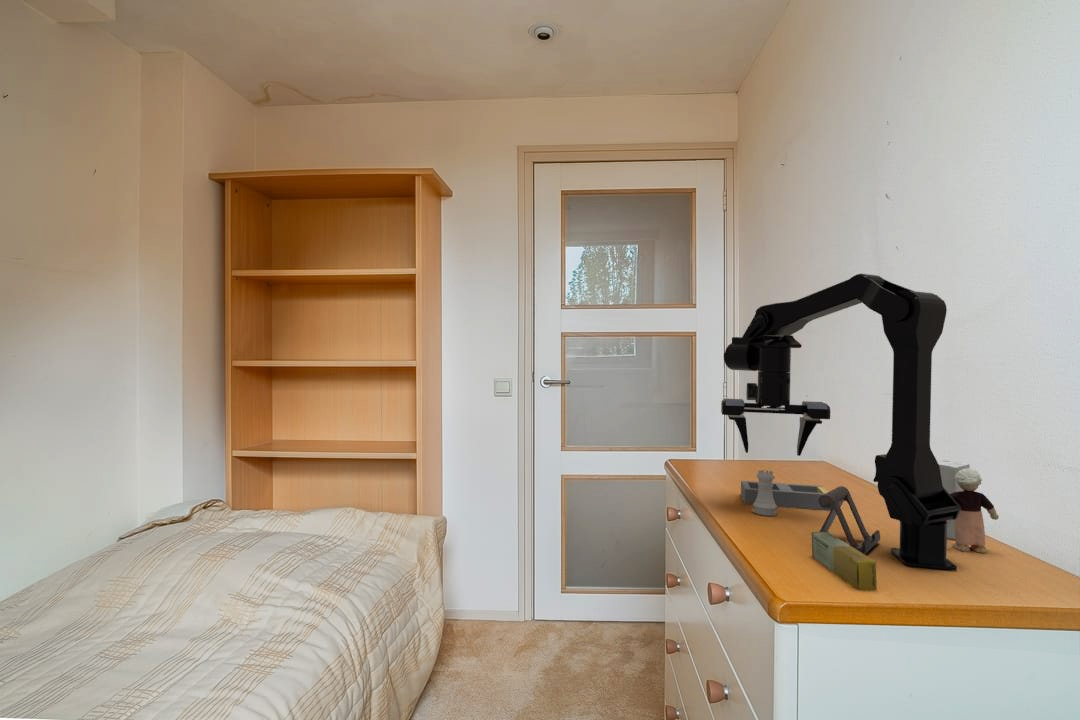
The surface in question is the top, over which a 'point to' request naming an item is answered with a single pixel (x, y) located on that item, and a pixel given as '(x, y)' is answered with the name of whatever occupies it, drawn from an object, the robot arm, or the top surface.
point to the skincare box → (951, 486)
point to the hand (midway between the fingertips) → (772, 453)
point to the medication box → (844, 561)
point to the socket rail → (786, 494)
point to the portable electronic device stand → (834, 503)
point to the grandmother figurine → (971, 512)
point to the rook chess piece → (765, 495)
